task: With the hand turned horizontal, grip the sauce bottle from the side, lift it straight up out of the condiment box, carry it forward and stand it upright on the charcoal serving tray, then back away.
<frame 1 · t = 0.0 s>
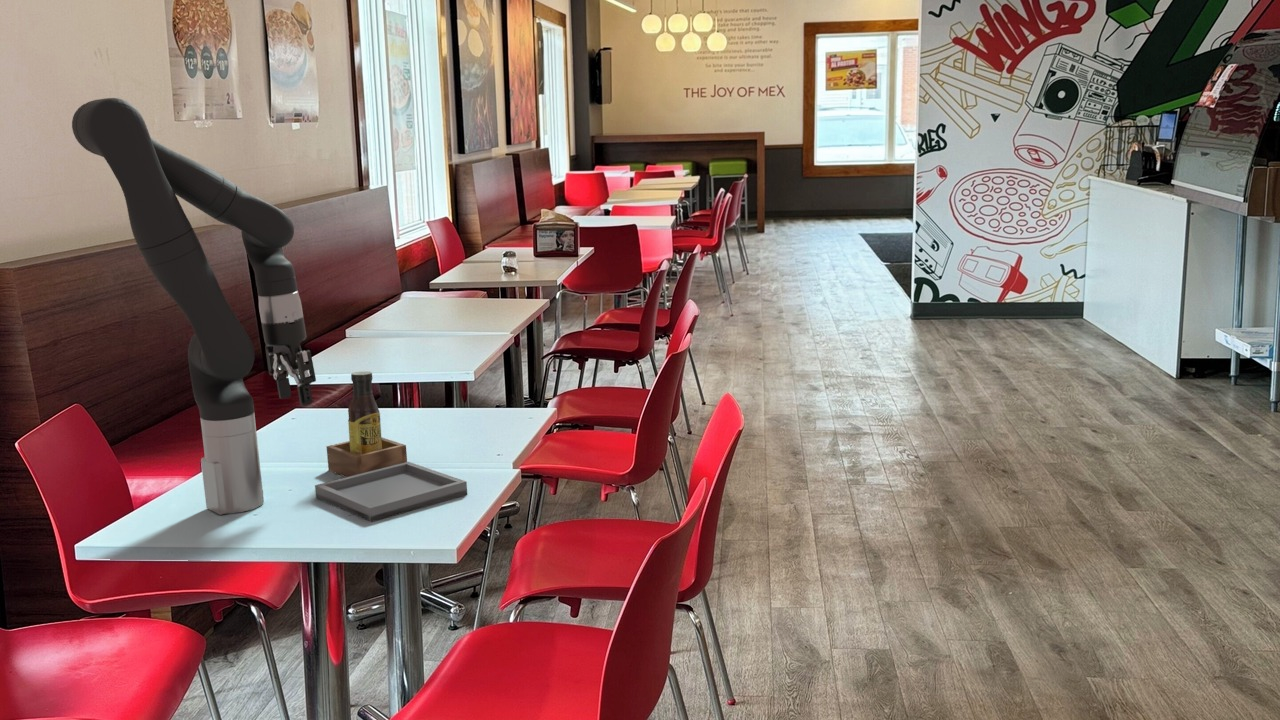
hand: (296, 401, 213), 17 cm above the table, tool pointing down, fingers open, 8 cm apart
sauce bottle: (368, 470, 228), resting in condiment box
serving tray: (391, 496, 210), on the table
condiment box: (368, 469, 228), on the table
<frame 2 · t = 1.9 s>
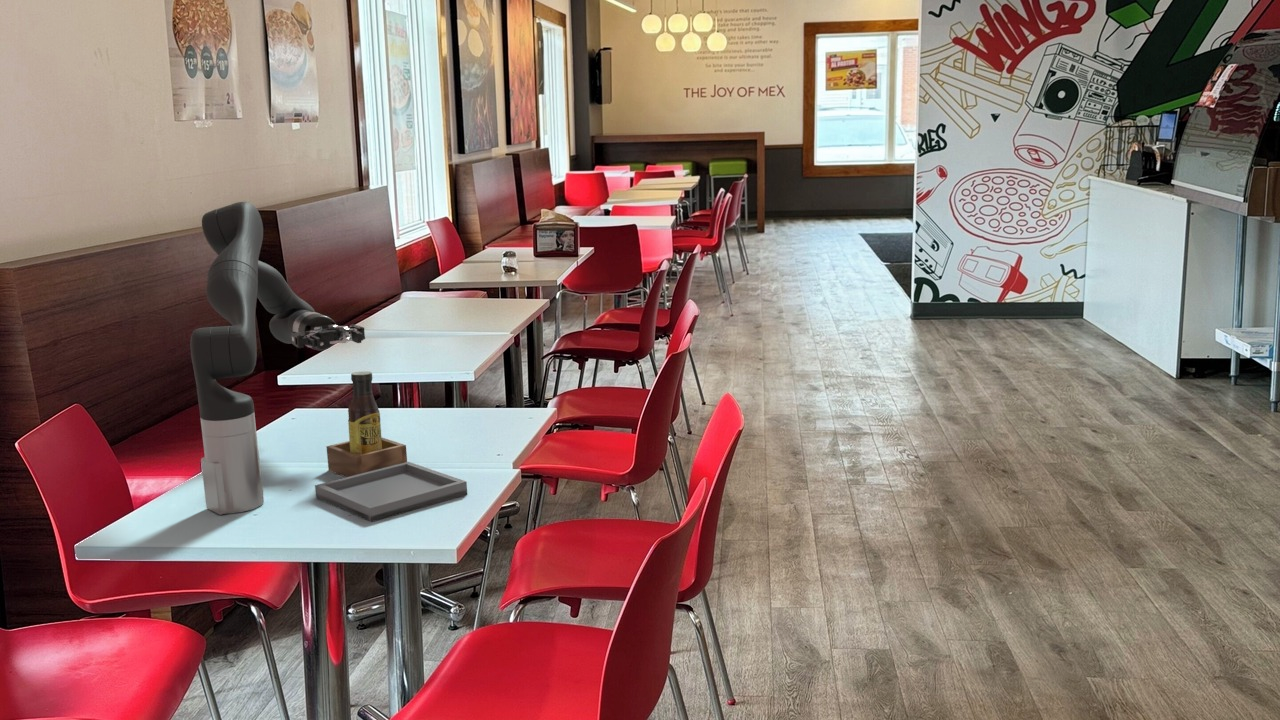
hand: (339, 340, 232), 25 cm above the table, tool horizontal, fingers open, 8 cm apart
nothing on the table moved.
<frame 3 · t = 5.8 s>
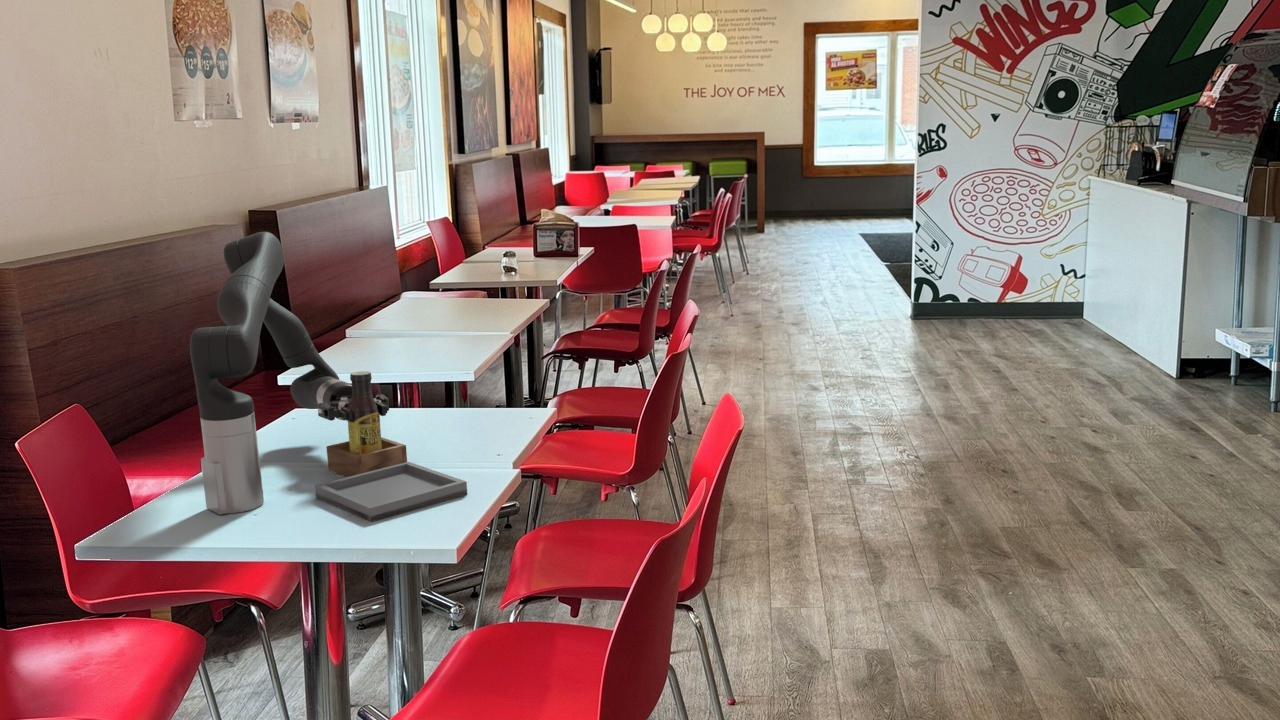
hand: (367, 413, 224), 12 cm above the table, tool horizontal, fingers closed on sauce bottle, 6 cm apart
sauce bottle: (368, 470, 228), resting in condiment box, touching gripper
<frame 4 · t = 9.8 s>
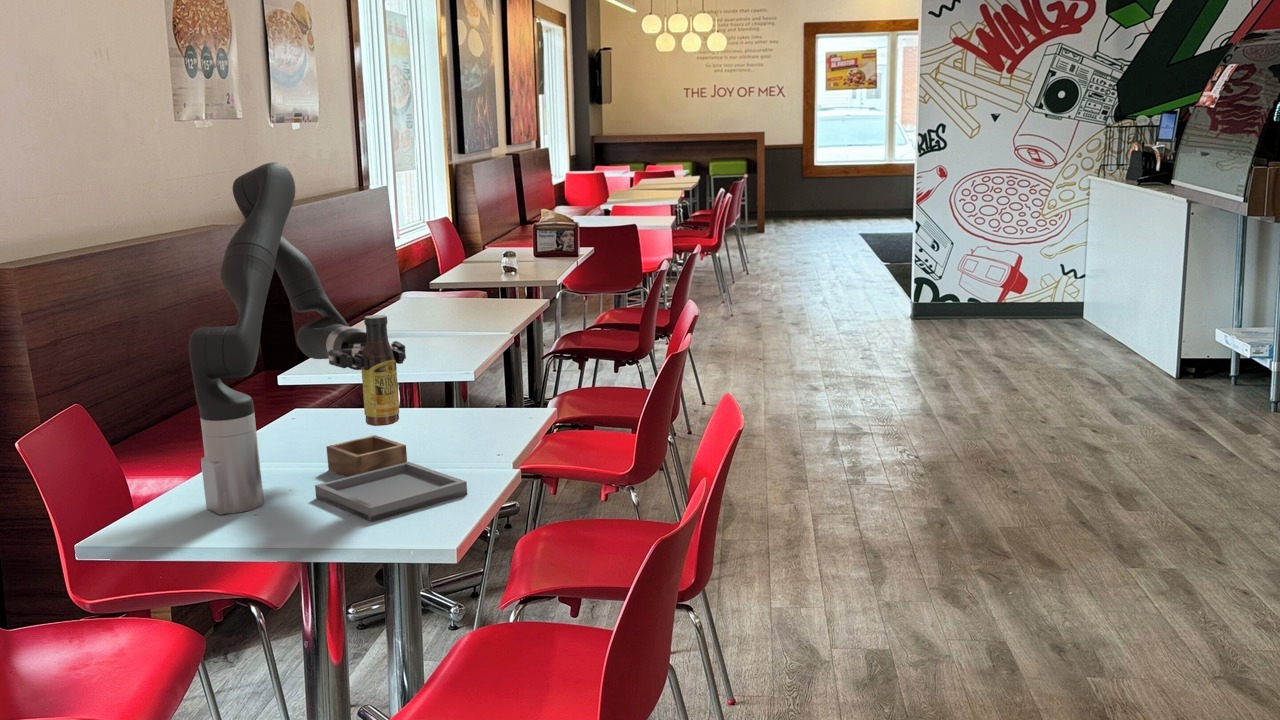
hand: (383, 360, 205), 26 cm above the table, tool horizontal, fingers closed on sauce bottle, 6 cm apart
sauce bottle: (383, 423, 209), point 14 cm above the table, touching gripper
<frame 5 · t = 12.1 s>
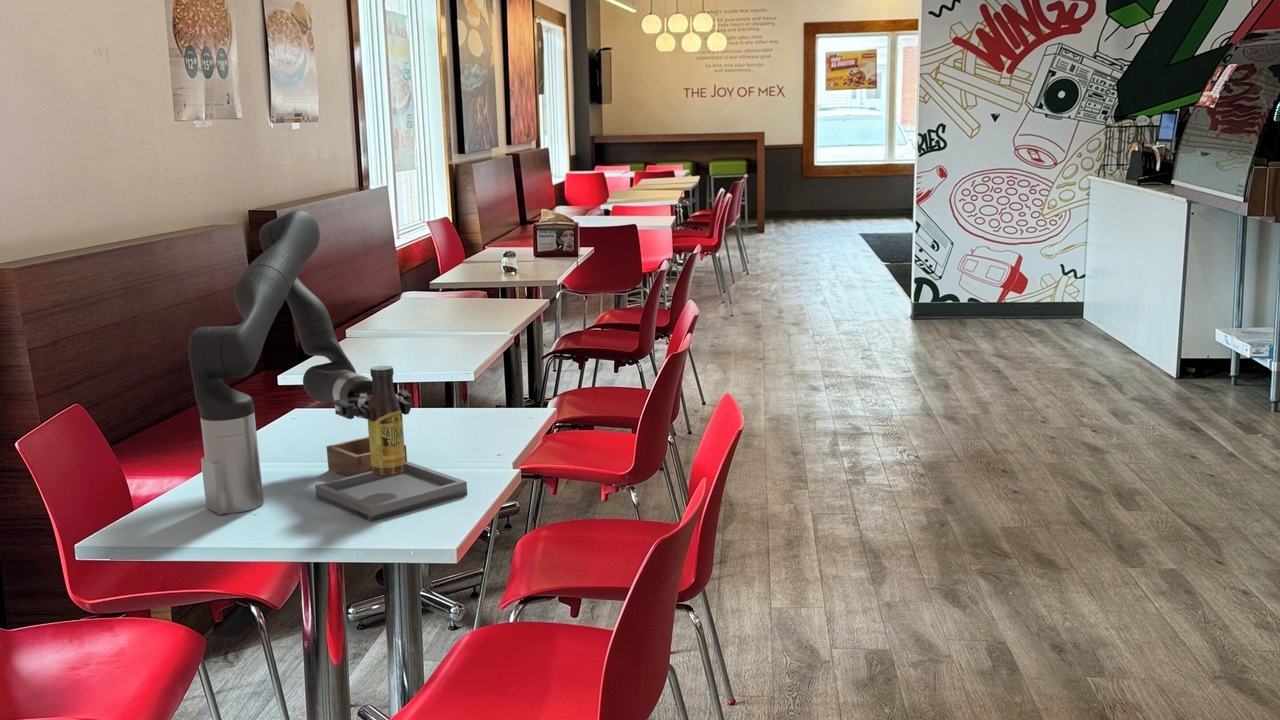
hand: (389, 411, 205), 16 cm above the table, tool horizontal, fingers closed on sauce bottle, 6 cm apart
sauce bottle: (389, 473, 210), point 4 cm above the table, touching gripper
when the fingers open (14 cm above the table, at t = 13.8 s): sauce bottle drops 1 cm, resting on serving tray.
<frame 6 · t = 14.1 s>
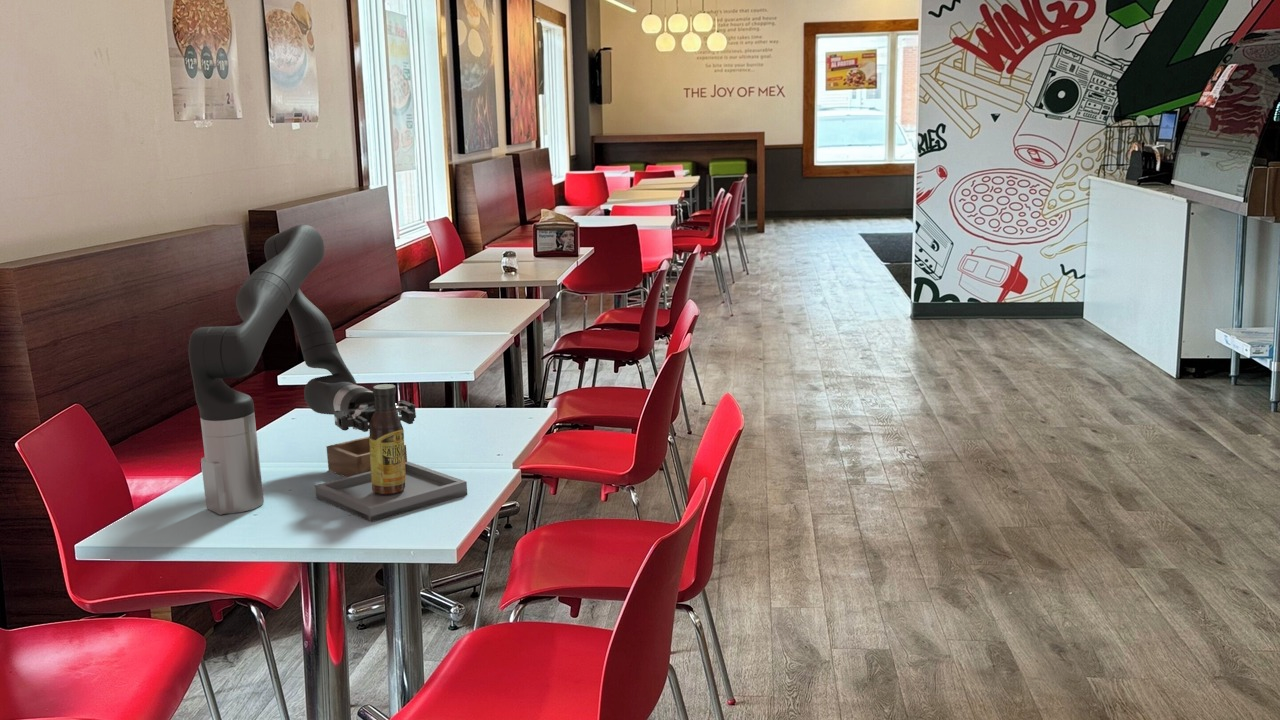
hand: (389, 422, 206), 15 cm above the table, tool horizontal, fingers open, 8 cm apart
sauce bottle: (389, 491, 210), point 1 cm above the table, touching serving tray
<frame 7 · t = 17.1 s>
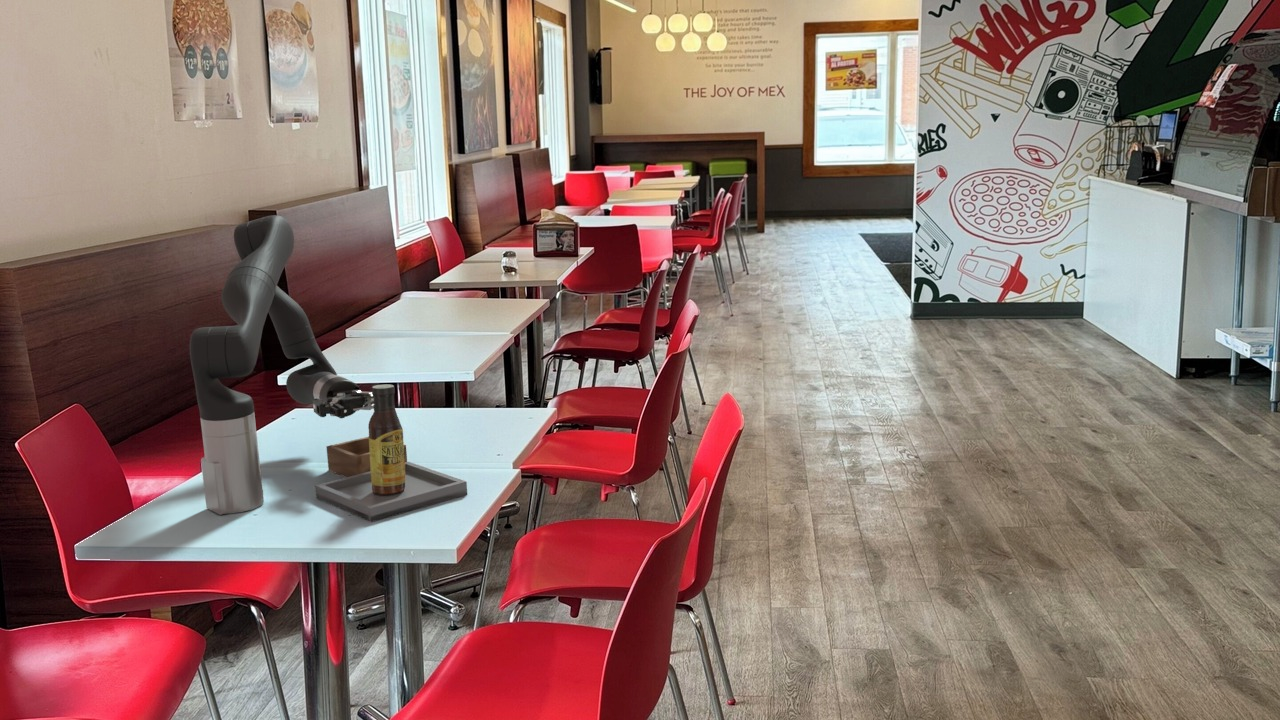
hand: (364, 409, 216), 14 cm above the table, tool horizontal, fingers open, 8 cm apart
nothing on the table moved.
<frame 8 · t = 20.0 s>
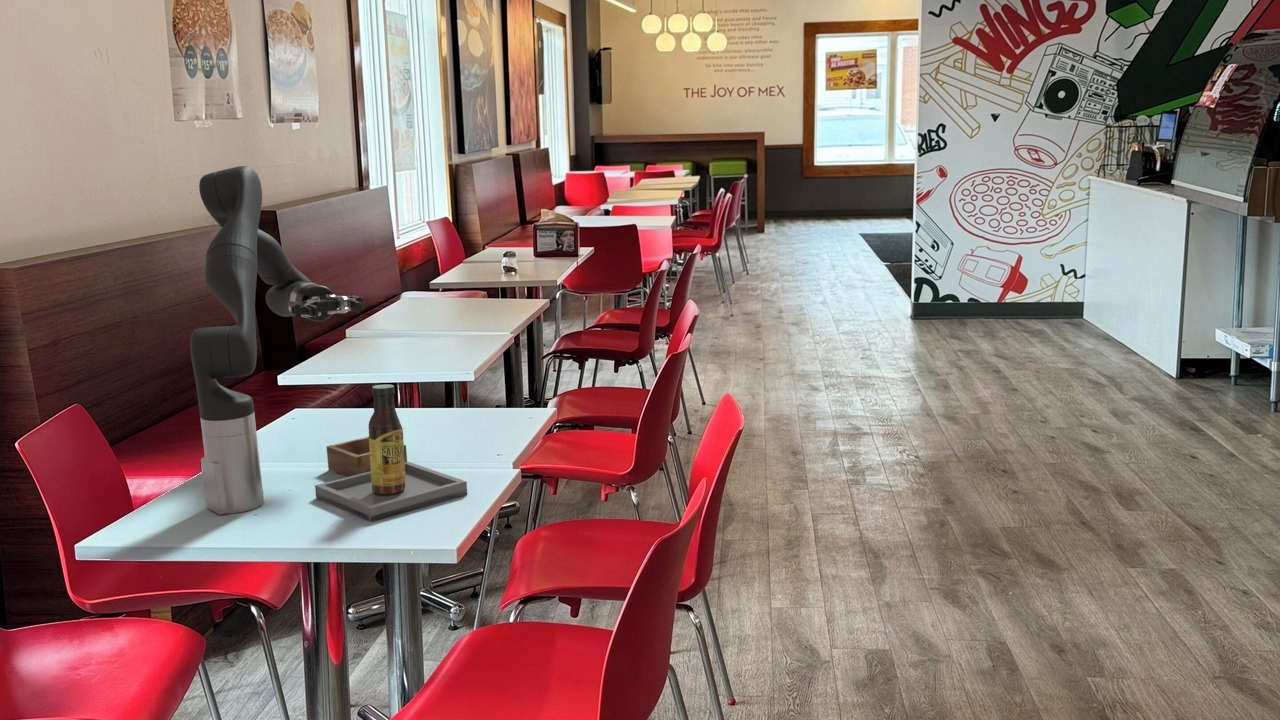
hand: (337, 309, 226), 32 cm above the table, tool horizontal, fingers open, 8 cm apart
nothing on the table moved.
at the end: sauce bottle inside the target area on the serving tray (0.2 cm from its centre), point 0.8 cm above the serving tray's base; sauce bottle tilted 0°; the gripper is holding nothing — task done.
